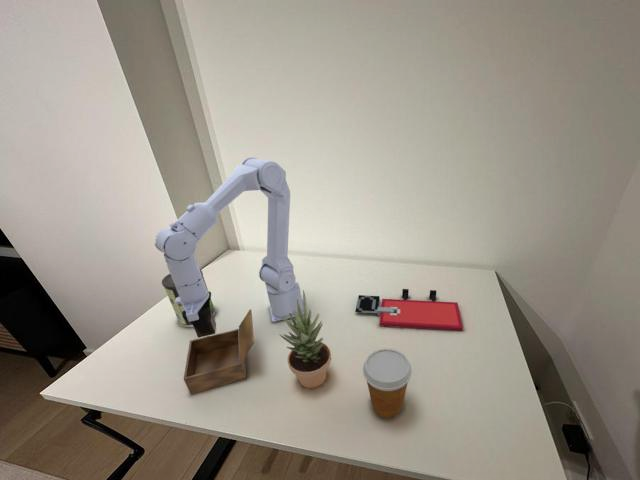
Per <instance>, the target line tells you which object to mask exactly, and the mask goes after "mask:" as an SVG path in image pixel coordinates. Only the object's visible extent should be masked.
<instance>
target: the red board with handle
mask: <svg viewBox="0 0 640 480" xmlns="http://www.w3.org/2000/svg"><path fill="white" fill-rule="evenodd" d="M409 291H410V290H409V288H402V293H401V297H402V299H398V298H397V299H395V298H381V305H380V306H379V304H380V295H363V294H358V297H357V301H356V306H355V310H354V313H363V314H376V315H377V317H379V323H378V324H379V325H378V326H379V327H393V328H397V327H398V328H411V329H413V328H414V329H430V330H443V331H461V332H463V330H464V326H463V321H462V317H461V312H460V307H459V303H458V302H457V301H455V302H454V301H436V300H437V289H436V290H434V289H430V290H429V296H428V298H429V300H418V299H417V300H415V299H414V300H413V299H409Z"/></svg>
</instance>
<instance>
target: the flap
mask: <svg viewBox="0 0 640 480" xmlns="http://www.w3.org/2000/svg"><path fill="white" fill-rule="evenodd" d="M253 323H254V322H253V311H252V309H249V310H248V312H247V313H246V314H245V316H244V318H243V319H242V321H241V322H240V324H239V325H238V329H239V346H240V361H241V362H242V360H243V359H244V357H245V358H246V356H247V354H248V353H249V351H250V349H252V347H253V346H254V344H255V334H254V324H253Z"/></svg>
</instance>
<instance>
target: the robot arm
mask: <svg viewBox="0 0 640 480" xmlns="http://www.w3.org/2000/svg"><path fill="white" fill-rule="evenodd" d="M286 178H287V172H286V170H285V169H283V167H282V166H280V165H279V164H278V163H277V162H275V161H273V160H271V161H269V160H263V159H259V158H256V157H252V156H251V157H247V158H245V159H243V161H242V162H241V163H239V164H238V165H237V166H235V167H234V170H233V172H232V173H231V174H230V175H229V177H227V179H226V180H224V181H223V183H222V184H221V185H220V186H219V187H218V188H217V189H216V190H215V192H214V191H213V193H212V195H211V196H210V197H208V199H206V201H205V202H195V203H194V204H188V206H186V208H185V209H186V210H187V211H185V212H184V213H183V214H182V215H181V216H180V217H179V218H178V219H177V220H175V221H172V222H171V223H170V224H169V227H167V228H163V229H161V230H160V231H159V232H158V233H157V234H156V236H155V237H156V238H155V243H154V246H155V248H156V249H157V250H158V251H159V252H161V253H163V258H164V260H165V261H164V262H165V263H166V267H167V269H168V272H169V274H171V277H172V279H173V282H174V284H175V287H176V289H177V292H178V294H179V296H180V297H177V298H176V300H175V302H176V304H182V306H183V307H184V309H185V311H183V314H182V316H183V318H184V320H186V321H188V322H190V323H191V324H192V325H193V326H194V327H195V328H196V329H197V330H198V332H199V333H200V334H204V333H208V332H210V325H209V319H208V315H209V312H210V298H211V299H212V292H211V291H209V289H208V288H207V289H208V290H207V289H206V286H207V285H206V286H205V283H206V282H205V283H204V280H205V279H204V280H203V278H202V275H201V272H200V270H201V268H200V267H199V264H198V260H197V258H196V256H195V251H196V247H197V246H196V245H197V244H198V242H199V241H200V240H201V239H202V238H203V237H204V236H205V235H206V234H207V233H208V232H209V231H210V230H211V229H212V228H213V227H214V226H215V225H216V224H217V223H218V221H219V213H221V212H222V211H223V210H224V209H225V208H226V207H228V206H229V205H230V204H231V203H232V202H233V201H235V199H237V198H238V197H239V196H240V195H242V193H244V192H250V191H260V192H261V193H262V194H264V196H265V197H266V198H267V234H266V235H267V237H266V238H267V239H266V241H267V242H266V248H267V249H266V255H265V256H264V257H263V258H262V259H261V266H260V268H259V271H258V276H259V279H260V281H262V282H264V284H265V288H266V293H267V298H268V301H269V311H270V317H271V322H272V323H275V322H280V321H285V320H284V318H283V316H284V317H285V318H286V319H287V320H288V319H291V317H290V315H289V313H290V314H291V315H292V317H293V318H295V315H294V310H295V311H296V313H297V315H298V309H297V299H298V302H299V305H300V308H301V312H302V315H303V316H304V304H303V302H304V300H303V295H302V292H301V288H300V283H299V282H298V281H297V282H296V279H297V278H296V275H295V273H294V265H293V263H292V262H291V260H290V258H289V257H288V254H289V230H290V209H291V207H290V206H291V189H290V187H289V185H288V182H287V179H286ZM194 327H193V328H194Z"/></svg>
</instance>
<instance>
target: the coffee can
mask: <svg viewBox="0 0 640 480" xmlns="http://www.w3.org/2000/svg"><path fill="white" fill-rule="evenodd" d="M200 272H201V275H202V278H203V280H204V283H205V286H206V289H207V290H208V291H209V289H208V286H207V283H206V280H205V277H204V273H203V270H202V269H200ZM161 285H162V286H163V289H164V290H165V292H166V293H165V294H166V295H167V297H168V299H169V302H170V304H171V306H172V309H173V311H174V313H175V316H176V318H177V320H178V324H179V325H180V326H181V327H184V328H194V327H193V325H192V324H191V323H190V322H188V321H186V320H184V318H183V316H182V314H183V311H185V309H184V307H183V306H182V304H176V302H175V300H176V298H177V297H180V296H179V294H178V292H177V289H176V287H175V284H174V282H173V279H172V277H171V274H170V273H168V274H167V275H166V276H164V277H163V278H162V280H161ZM210 312H212V314H213V317H215V315H216V309H215V306H214V304H213V301H212V297H211V298H210Z"/></svg>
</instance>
